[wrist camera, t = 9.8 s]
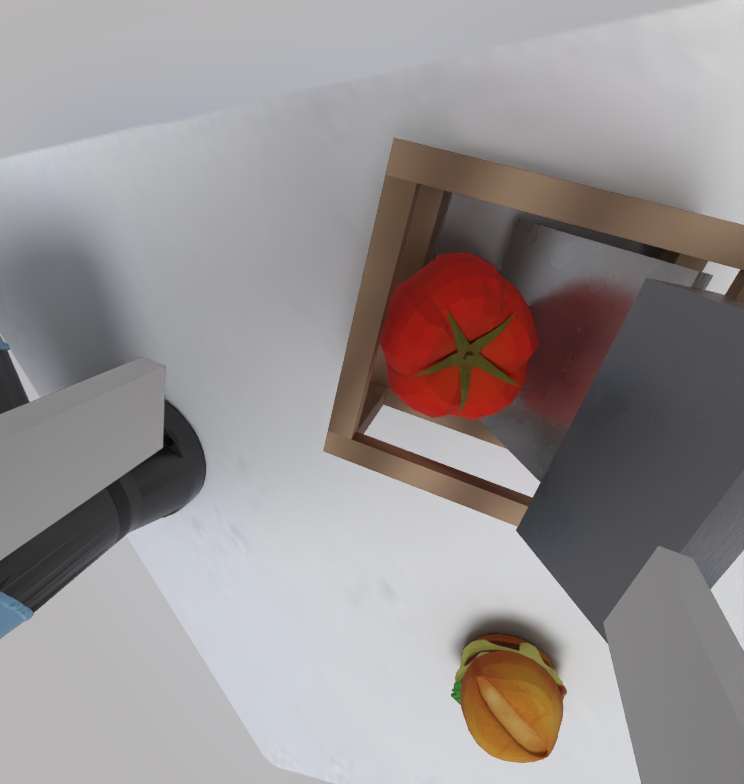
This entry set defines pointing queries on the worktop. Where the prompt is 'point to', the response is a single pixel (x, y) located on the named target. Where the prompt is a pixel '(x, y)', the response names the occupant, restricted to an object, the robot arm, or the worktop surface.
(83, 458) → the robot arm
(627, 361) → the trapdoor
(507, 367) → the tomato
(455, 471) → the frame
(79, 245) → the worktop surface
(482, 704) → the cheeseburger
